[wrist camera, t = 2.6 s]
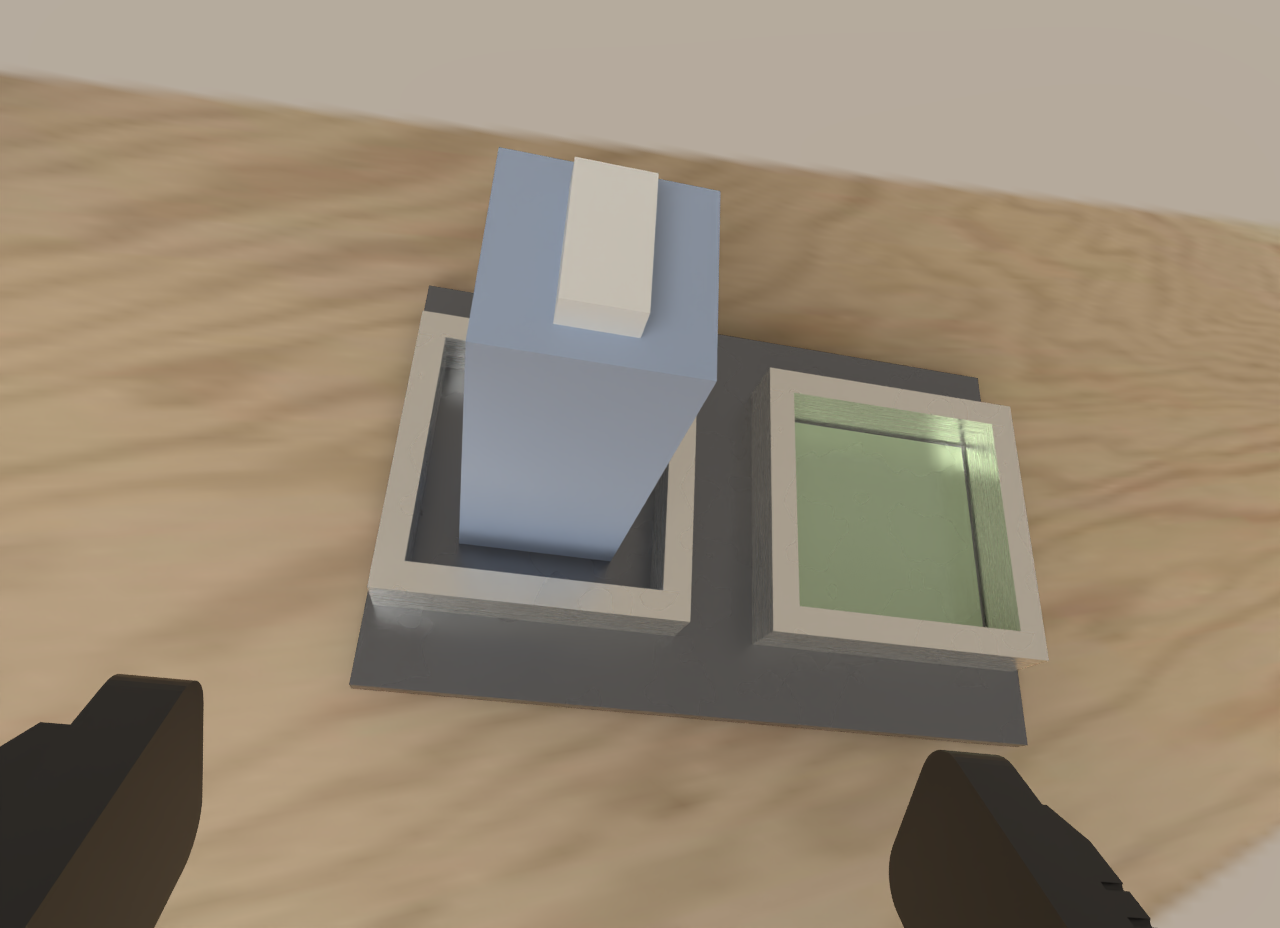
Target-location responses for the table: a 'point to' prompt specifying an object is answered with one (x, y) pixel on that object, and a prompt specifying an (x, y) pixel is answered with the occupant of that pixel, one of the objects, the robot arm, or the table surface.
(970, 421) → the panel
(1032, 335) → the table surface
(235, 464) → the table surface
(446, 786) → the table surface
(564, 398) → the plug
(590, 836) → the table surface
